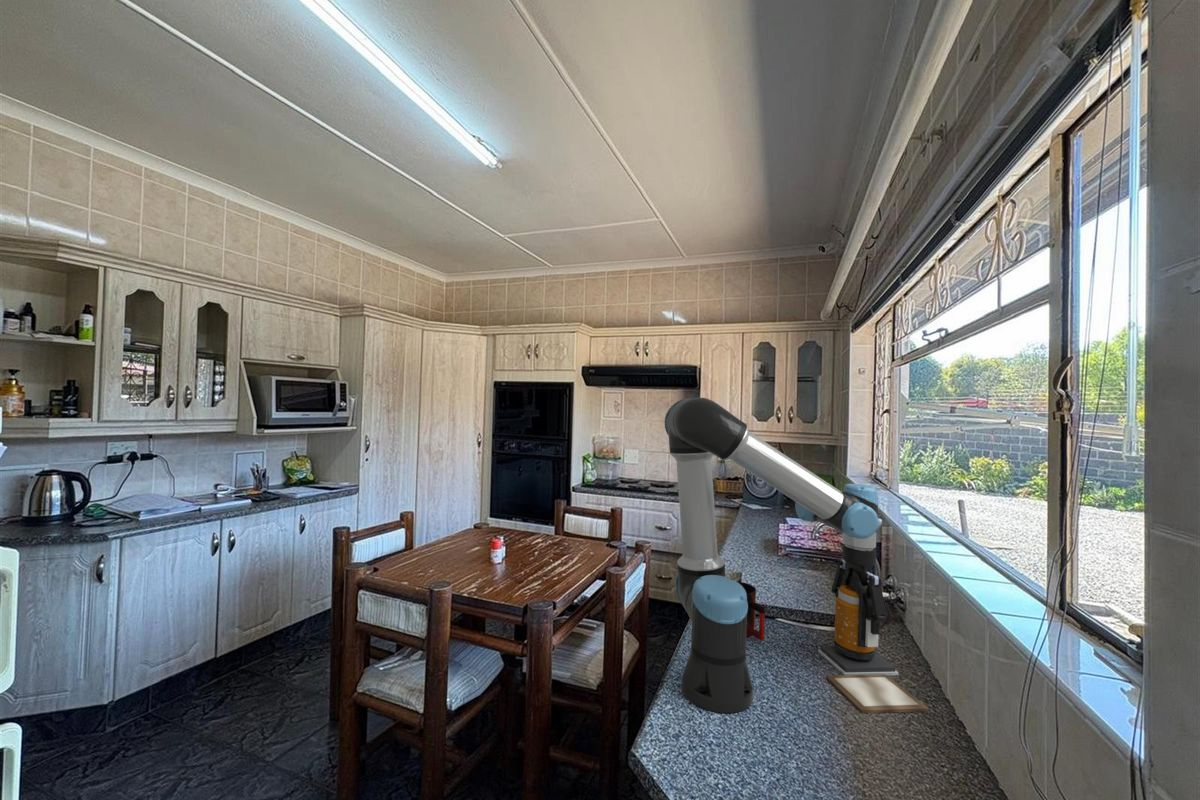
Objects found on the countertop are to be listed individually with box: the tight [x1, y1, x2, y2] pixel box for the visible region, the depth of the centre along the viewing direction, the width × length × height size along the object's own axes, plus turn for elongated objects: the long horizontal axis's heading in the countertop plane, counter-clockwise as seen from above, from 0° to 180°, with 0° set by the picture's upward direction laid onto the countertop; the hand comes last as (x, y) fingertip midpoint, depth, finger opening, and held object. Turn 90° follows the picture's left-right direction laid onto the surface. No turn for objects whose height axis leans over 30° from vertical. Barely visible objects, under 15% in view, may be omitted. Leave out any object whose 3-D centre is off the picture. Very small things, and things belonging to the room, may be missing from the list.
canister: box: [833, 579, 876, 660], centre depth 120 cm, size 9×11×20 cm
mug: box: [735, 580, 766, 642], centre depth 135 cm, size 10×14×12 cm
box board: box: [825, 674, 930, 714], centre depth 106 cm, size 15×13×1 cm
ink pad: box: [817, 645, 900, 676], centre depth 120 cm, size 14×12×2 cm
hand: (856, 634), depth 120 cm, fingers closed on canister, 11 cm apart
